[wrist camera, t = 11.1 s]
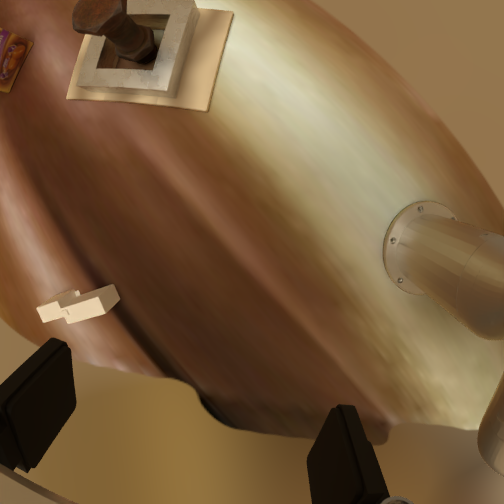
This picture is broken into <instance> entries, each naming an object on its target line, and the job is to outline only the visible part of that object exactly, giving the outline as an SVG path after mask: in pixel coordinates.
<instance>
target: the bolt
mask: <svg viewBox="0 0 504 504" xmlns="http://www.w3.org/2000/svg"><path fill="white" fill-rule="evenodd" d="M72 25H73V29H74V30H75V31H77V32H78V33H82V34H89V35H94V36H100V37H102V36H103V35H104V36H105V37H106V38H108V39H109V40H110V41H111V42H113V43H114V44H115V51H116V55H117V56H118V57H120V58H123V59H126V60H129V61H134V62H137V63H146V62H148V61H150V60H152V59H154V58H155V57H156V56H157V53H158V52H157V47H156V46H155V44H154V34H153V31H152V29H151V28H149V27H147V26H143V25H138V24H136V23H135V22H134V21H133V20H132V18H130V16H129V15H128V14H127V0H79V1H78V3H77V4H76V6H75V8H74V10H73V14H72Z"/></svg>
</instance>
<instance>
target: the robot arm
mask: <svg viewBox="0 0 504 504" xmlns="http://www.w3.org/2000/svg"><path fill="white" fill-rule="evenodd" d="M418 207H419V210H418ZM391 238H392V240H391V241H390V239H391ZM383 259H384V264H385V268H386V270H387V273H388V275H389V277H390V278H391V280H392V281H393V282H394V283H395V284H396V285H397V286H398V287H399V288H401V289H402V290H403V291H405V292H408V293H410V294H415V295H424V294H427V295H428V296H429V297H430V298H432V299H433V300H434V301H435V302H437V303H438V304H439V305H440V306H441V307H443V308H444V309H445V310H446V311H447V312H449V313H450V314H451V315H452V316H453V317H455V318H456V319H457V320H458V321H459V322H461V323H462V324H463V325H464V326H465V327H467V328H468V329H469V330H470V331H471V332H473V333H474V334H475V335H477V336H479V337H481V338H483V339H487V340H503V339H504V236H502V235H499V234H496V233H493V232H490V231H487V230H484V229H481V228H478V227H475V226H472V225H469V224H465V223H462V222H459V221H458V219H457V217H456V216H455V215H454V214H453V212H452V211H451V210H449V209H448V208H447V207H446V206H444V205H442V204H440V203H436V202H430V201H422V202H417V203H414V204H412V205H410V206H408V207H406V208H405V209H403V210H402V211H401V212H400V213H399V214H398V215H397V216H396V218H395V219H394V220H393V222H392V223H391V225H390V227H389V229H388V231H387V234H386V237H385V240H384V247H383ZM398 278H399V279H398ZM75 408H76V394H75V387H74V378H73V368H72V356H71V349H70V348H69V347H68V345H67V343H66V342H64V341H61V340H59V339H56V338H50V339H49V340H48V341H47V342H46V343H45V344H44V345H43V346H41V347H40V348H39V349H38V350H37V351H36V352H35V353H34V354H33V355H32V356H31V357H29V358H28V359H27V360H26V361H25V362H24V363H23V364H22V365H21V366H20V367H19V368H18V369H17V370H16V371H14V372H13V373H12V374H11V375H10V376H9V377H8V378H7V379H6V380H5V381H4V382H3V383H2V384H1V385H0V504H78V503H75V502H73V501H70V500H68V499H66V498H64V497H62V496H60V495H57V494H55V493H53V492H51V491H49V490H47V489H45V488H43V487H41V486H39V485H37V484H35V483H34V482H32V481H30V480H28V479H26V478H24V477H22V476H21V475H19V474H17V473H15V472H14V469H15V468H16V467H17V468H19V469H21V470H23V471H24V472H26V473H28V472H29V470H30V469H31V468H35V467H36V466H37V465H38V463H39V462H40V460H41V459H42V457H43V455H44V454H45V453H46V451H47V450H48V448H49V447H50V445H51V444H52V442H53V440H54V439H55V438H56V436H57V435H58V433H59V432H60V430H61V429H62V427H63V426H64V424H65V423H66V422H67V420H68V419H69V417H70V416H71V414H72V413H73V411H74V410H75ZM477 445H478V450H479V453H480V455H481V457H482V459H483V460H484V461H485V463H486V464H487V465H488V466H489V467H490V468H491V469H492V470H494V471H495V472H497V473H498V474H500V475H502V476H504V372H503V375H502V377H501V379H500V382H499V384H498V386H497V388H496V391H495V393H494V395H493V397H492V399H491V401H490V403H489V406H488V408H487V410H486V412H485V414H484V416H483V418H482V421H481V424H480V426H479V430H478V437H477ZM307 469H308V477H309V484H310V492H311V499H312V504H414V503H413V502H412V501H410V500H408V499H407V498H404V497H399V496H394V497H390V495H389V492H388V490H387V486H386V484H385V480H384V478H383V475H382V472H381V469H380V466H379V463H378V460H377V458H376V455H375V452H374V449H373V446H372V444H371V442H369V441H367V438H366V435H365V432H364V430H363V427H362V424H361V421H360V418H359V416H358V413H357V410H356V408H355V406H353V405H341V404H339V405H337V407H336V408H332V409H331V410H330V412H329V415H328V417H327V419H326V421H325V423H324V425H323V427H322V429H321V431H320V433H319V435H318V437H317V439H316V441H315V443H314V445H313V447H312V448H311V451H310V452H309V454H308V457H307Z"/></svg>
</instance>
